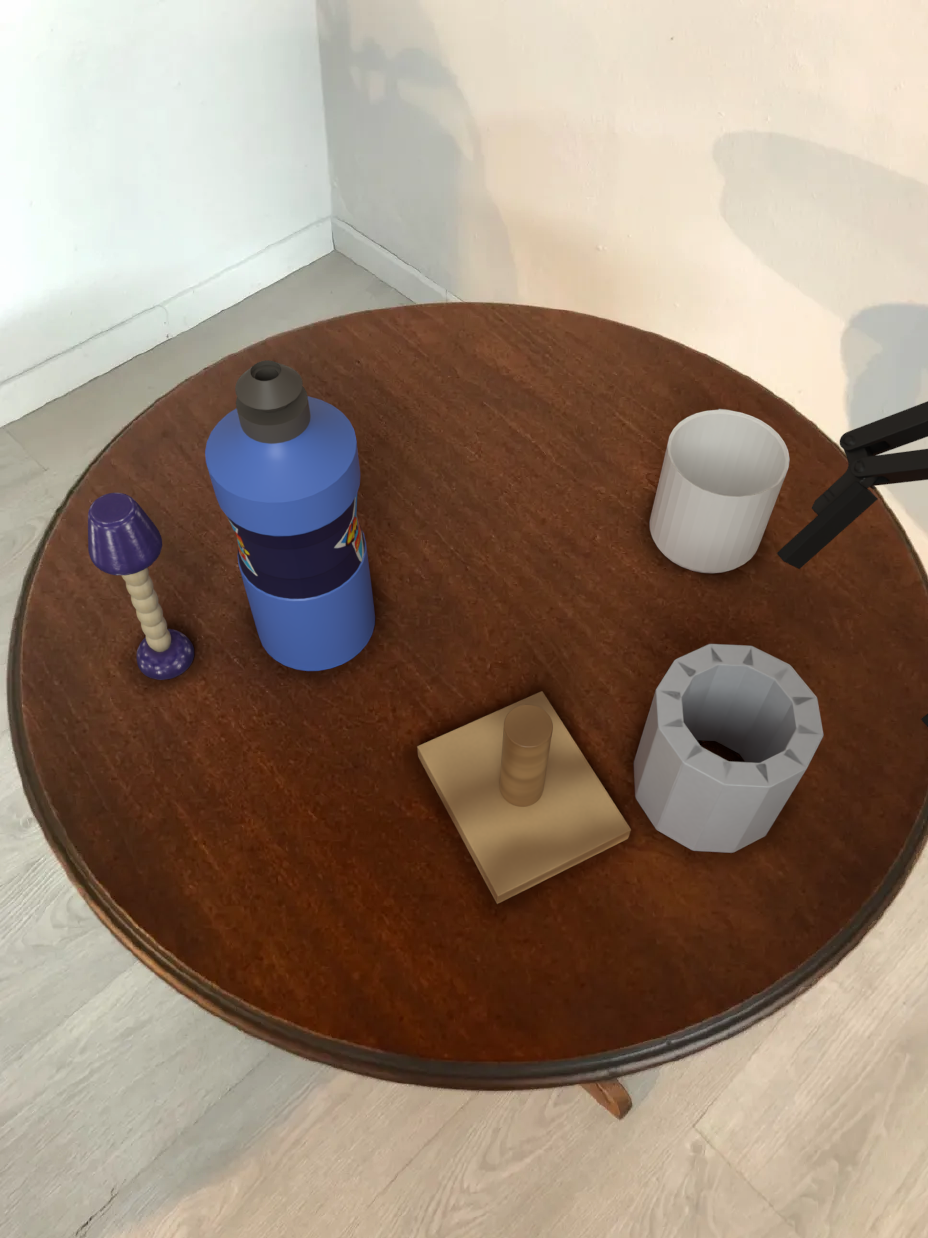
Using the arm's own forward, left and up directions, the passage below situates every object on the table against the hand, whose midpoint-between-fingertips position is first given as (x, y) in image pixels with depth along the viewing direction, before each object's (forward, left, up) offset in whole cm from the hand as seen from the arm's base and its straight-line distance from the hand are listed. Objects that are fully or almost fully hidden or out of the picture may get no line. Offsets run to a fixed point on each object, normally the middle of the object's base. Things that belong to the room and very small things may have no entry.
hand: (855, 639), depth 62 cm
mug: (+20, -6, -13) cm, 24 cm away
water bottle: (+25, +27, -13) cm, 39 cm away
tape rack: (+5, +20, -13) cm, 24 cm away
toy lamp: (+27, +38, -13) cm, 48 cm away
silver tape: (0, +8, -13) cm, 15 cm away
